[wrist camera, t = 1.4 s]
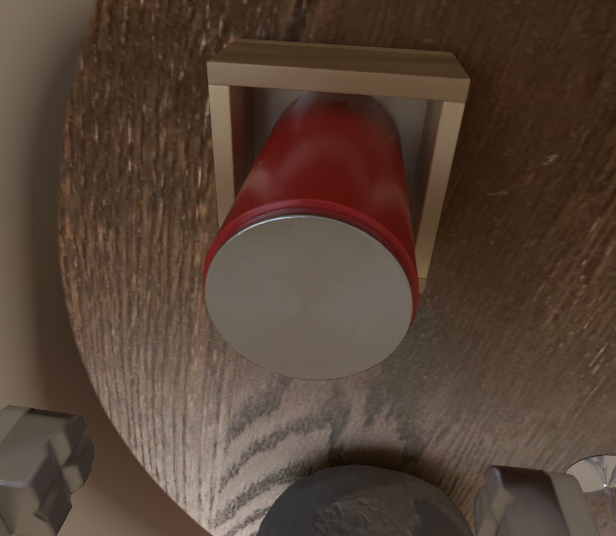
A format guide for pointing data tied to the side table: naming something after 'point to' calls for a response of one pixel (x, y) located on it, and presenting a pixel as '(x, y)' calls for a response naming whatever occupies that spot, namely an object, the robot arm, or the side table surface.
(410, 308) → the can
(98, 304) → the side table surface
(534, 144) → the side table surface
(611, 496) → the wineglass
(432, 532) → the dark grey metal pot
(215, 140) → the holder
